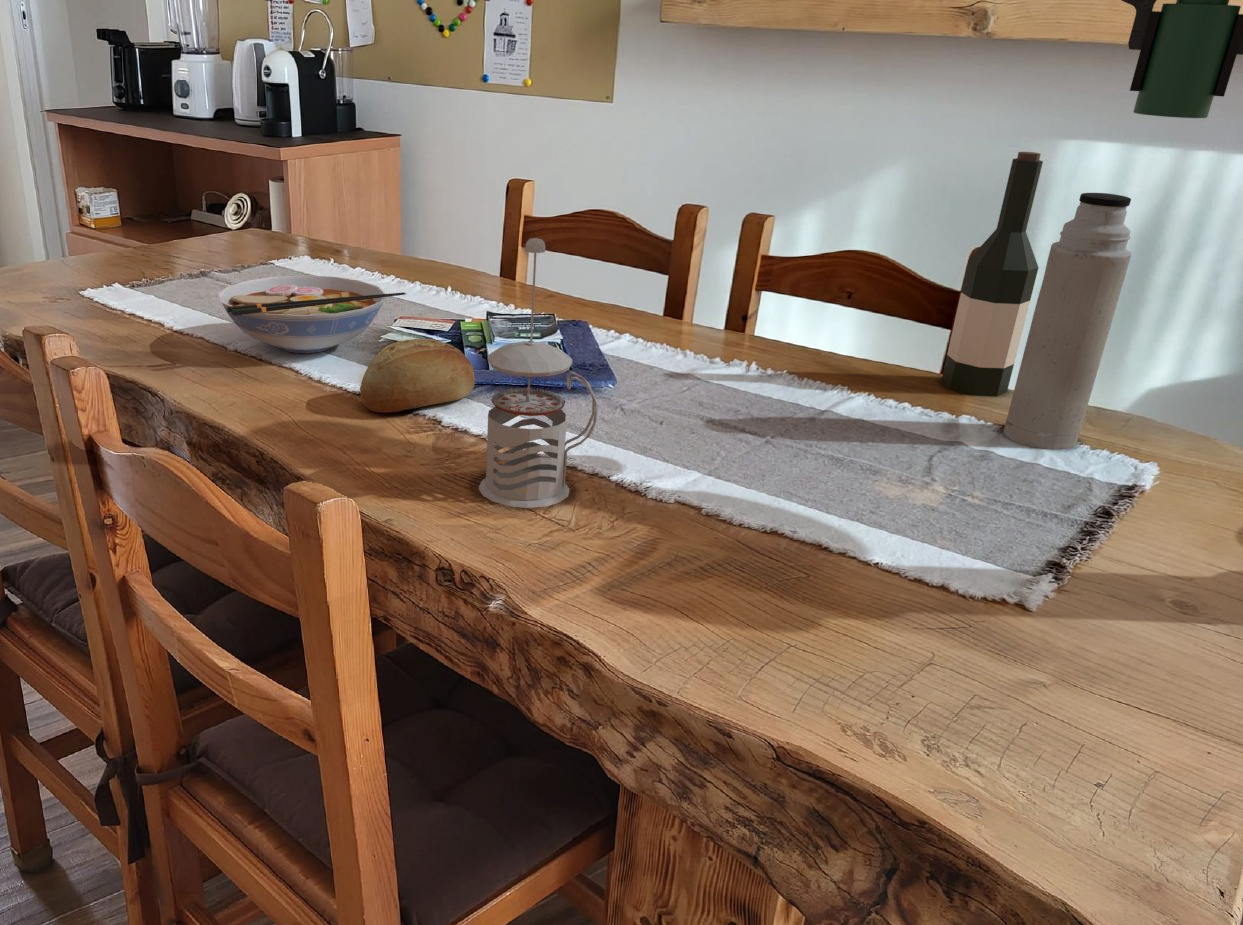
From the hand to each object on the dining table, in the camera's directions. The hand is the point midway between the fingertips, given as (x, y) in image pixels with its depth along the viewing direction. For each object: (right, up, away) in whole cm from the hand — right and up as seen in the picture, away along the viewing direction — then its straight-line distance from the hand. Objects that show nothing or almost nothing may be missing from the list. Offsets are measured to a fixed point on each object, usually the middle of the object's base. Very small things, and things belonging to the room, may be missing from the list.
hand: (1176, 92), depth 98 cm
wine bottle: (+2, -20, +47) cm, 51 cm away
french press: (-58, -36, +11) cm, 69 cm away
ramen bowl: (-89, -13, +53) cm, 105 cm away
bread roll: (-71, -24, +33) cm, 82 cm away
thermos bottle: (+2, -29, +30) cm, 42 cm away
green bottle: (0, -2, +1) cm, 2 cm away
